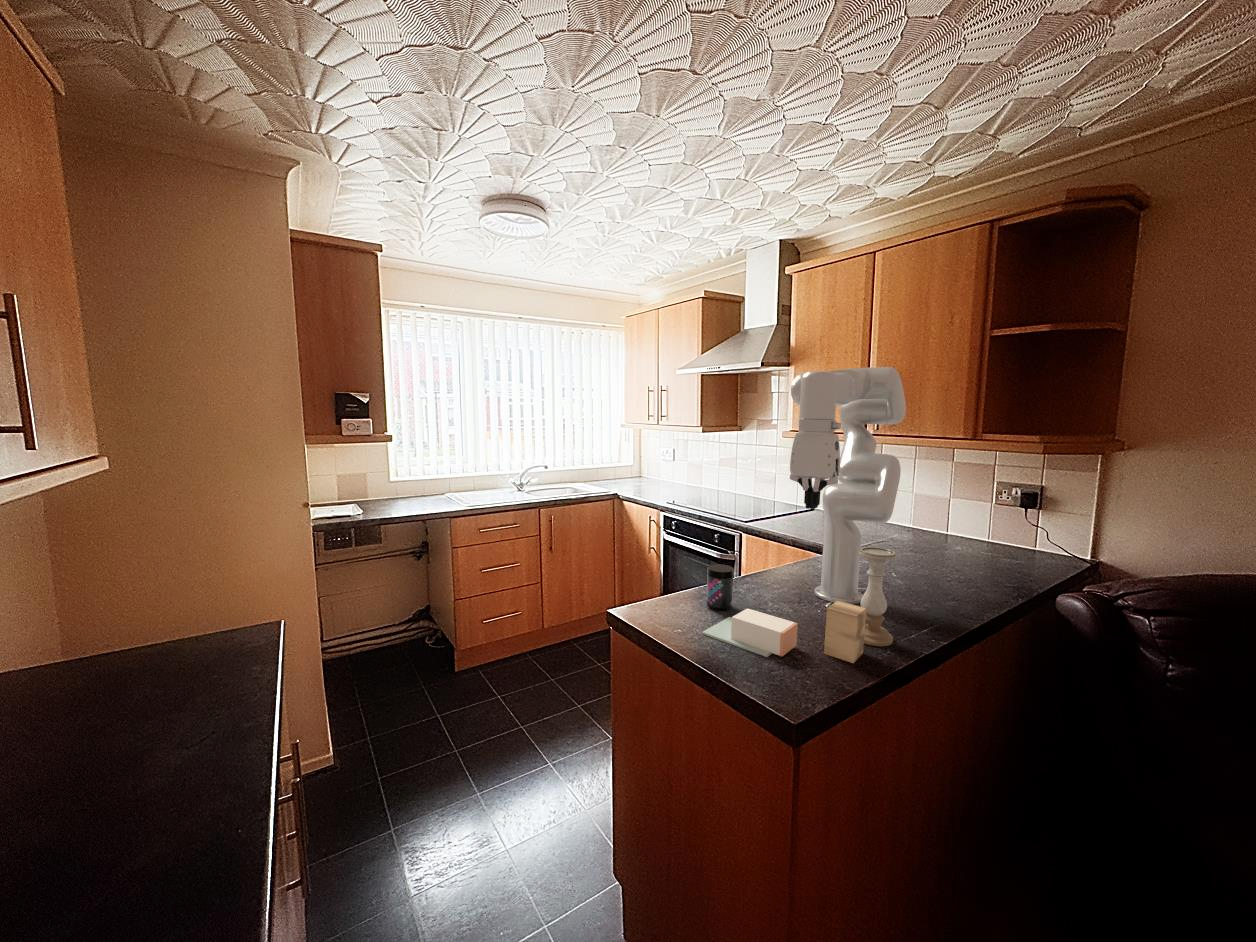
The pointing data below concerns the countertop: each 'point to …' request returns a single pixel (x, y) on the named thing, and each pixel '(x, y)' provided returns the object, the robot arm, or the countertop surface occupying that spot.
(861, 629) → the oak block
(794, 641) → the cream block
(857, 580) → the robot arm
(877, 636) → the candle holder
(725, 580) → the supplement container
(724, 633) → the mat
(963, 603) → the countertop surface
